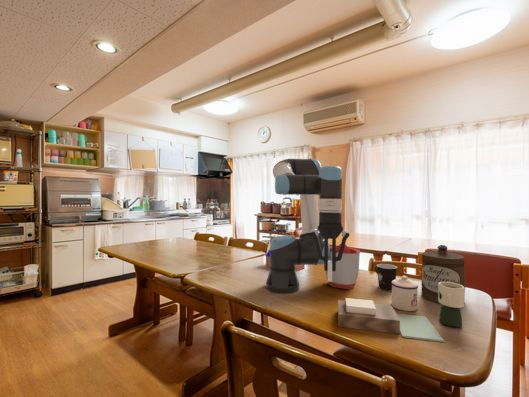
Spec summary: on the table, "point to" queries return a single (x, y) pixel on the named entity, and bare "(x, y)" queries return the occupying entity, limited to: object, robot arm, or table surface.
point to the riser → (370, 319)
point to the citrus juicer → (345, 268)
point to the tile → (360, 306)
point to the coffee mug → (386, 275)
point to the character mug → (451, 303)
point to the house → (297, 267)
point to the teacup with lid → (404, 294)
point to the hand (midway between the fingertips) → (329, 280)
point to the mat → (418, 328)
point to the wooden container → (440, 271)
